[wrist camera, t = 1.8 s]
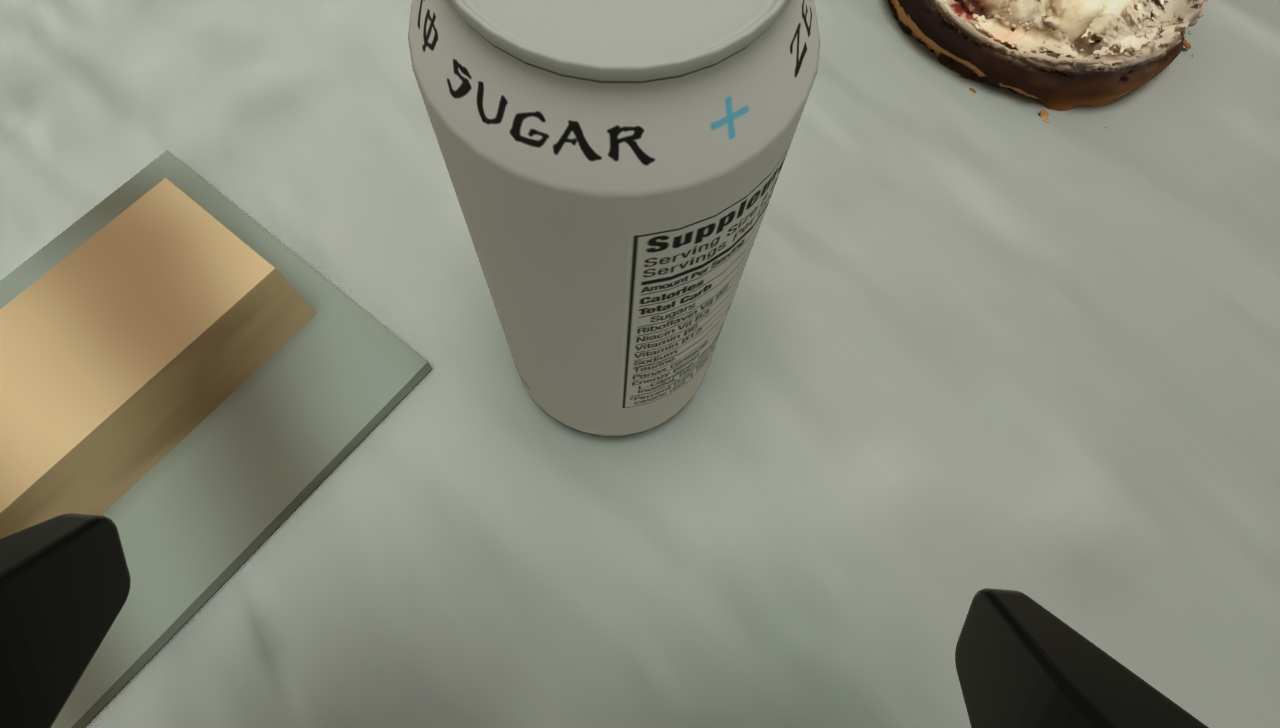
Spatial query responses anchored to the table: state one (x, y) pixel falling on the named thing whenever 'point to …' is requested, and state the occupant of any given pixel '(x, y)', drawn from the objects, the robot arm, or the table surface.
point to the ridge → (178, 396)
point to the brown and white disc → (1053, 43)
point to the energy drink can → (613, 178)
